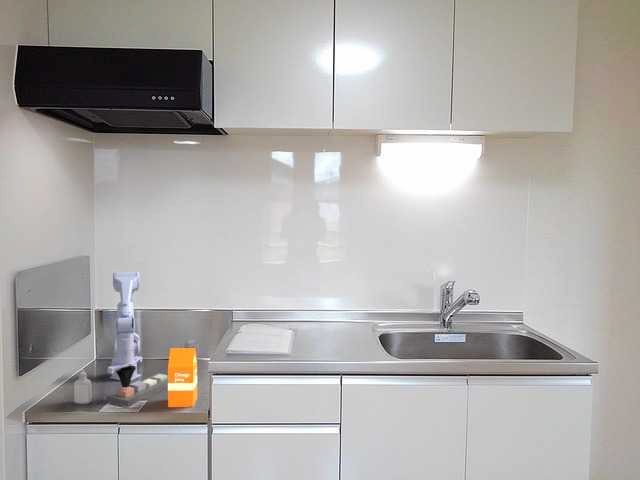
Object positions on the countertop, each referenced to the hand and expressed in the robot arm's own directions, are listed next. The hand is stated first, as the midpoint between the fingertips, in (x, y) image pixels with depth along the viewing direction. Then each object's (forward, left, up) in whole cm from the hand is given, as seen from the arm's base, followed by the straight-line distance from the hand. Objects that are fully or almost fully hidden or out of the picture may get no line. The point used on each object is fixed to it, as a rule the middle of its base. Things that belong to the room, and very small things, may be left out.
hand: (125, 386), depth 174 cm
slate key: (0, +6, -3) cm, 7 cm away
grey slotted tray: (0, +9, -5) cm, 10 cm away
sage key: (0, +18, -4) cm, 19 cm away
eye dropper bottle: (-12, -8, -5) cm, 15 cm away
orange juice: (+20, +7, -5) cm, 22 cm away
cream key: (0, +12, -4) cm, 13 cm away
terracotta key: (0, 0, -3) cm, 3 cm away
